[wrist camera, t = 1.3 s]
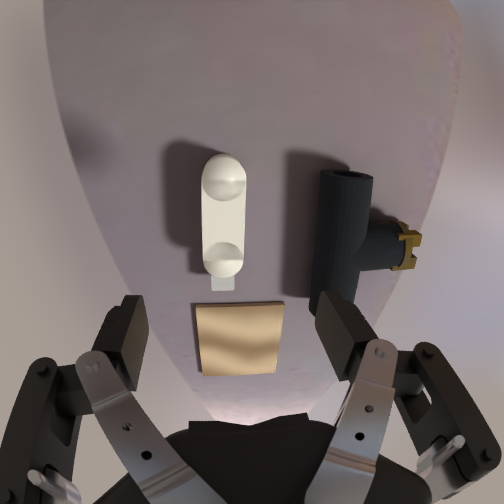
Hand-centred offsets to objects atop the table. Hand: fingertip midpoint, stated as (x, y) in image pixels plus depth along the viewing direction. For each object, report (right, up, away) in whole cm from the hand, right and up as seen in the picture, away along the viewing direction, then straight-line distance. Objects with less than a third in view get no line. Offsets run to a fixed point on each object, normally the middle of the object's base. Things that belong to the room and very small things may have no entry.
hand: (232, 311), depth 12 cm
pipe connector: (+13, +4, +18) cm, 22 cm away
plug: (-2, +6, +15) cm, 16 cm away
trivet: (-1, -9, +22) cm, 23 cm away
